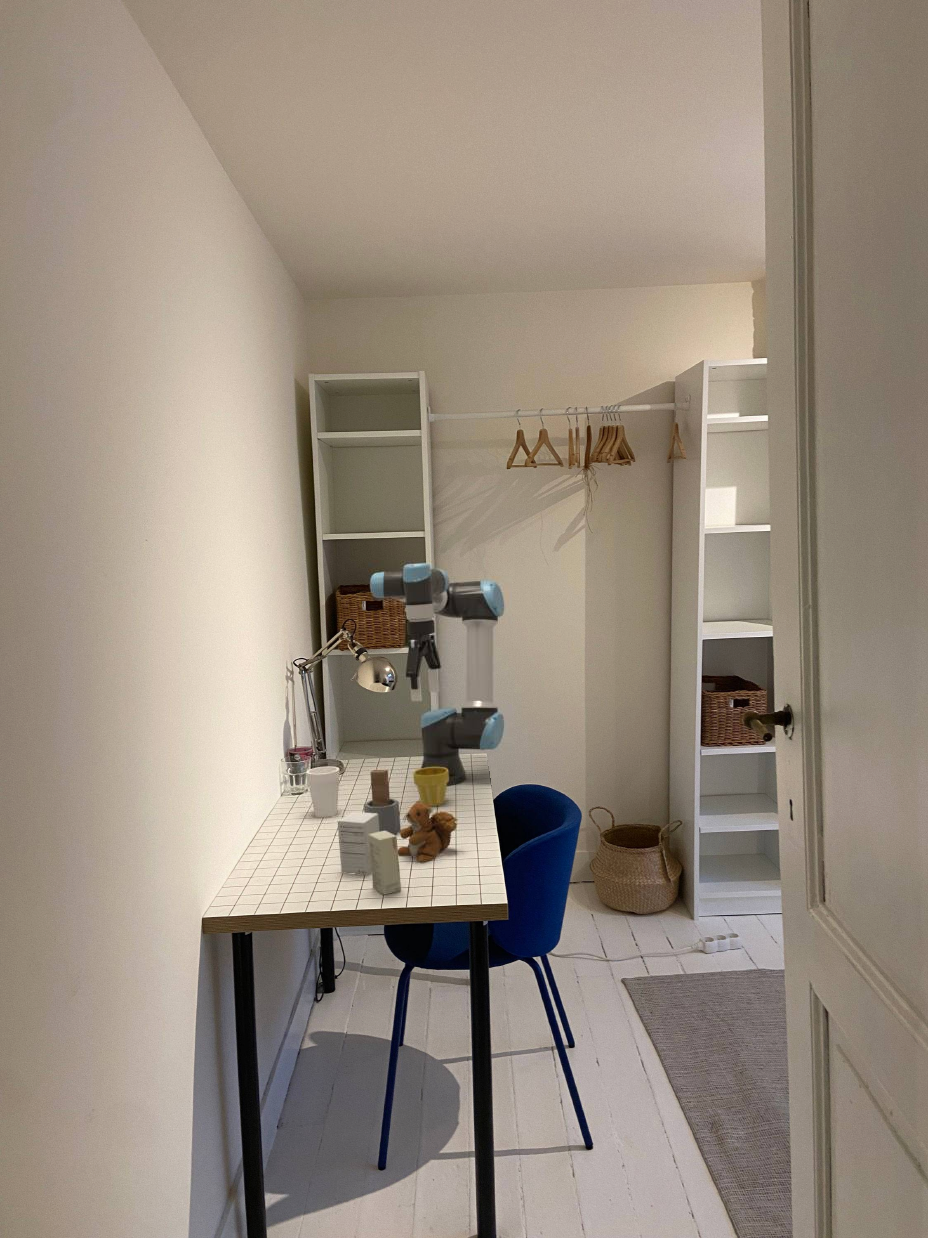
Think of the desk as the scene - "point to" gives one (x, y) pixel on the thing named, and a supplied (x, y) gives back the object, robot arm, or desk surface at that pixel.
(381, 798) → the tan wooden beam
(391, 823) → the jar
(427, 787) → the plant pot
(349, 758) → the desk surface
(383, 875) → the skincare box
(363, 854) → the supplement box
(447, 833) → the stuffed squirrel
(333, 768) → the foam cup
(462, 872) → the desk surface
